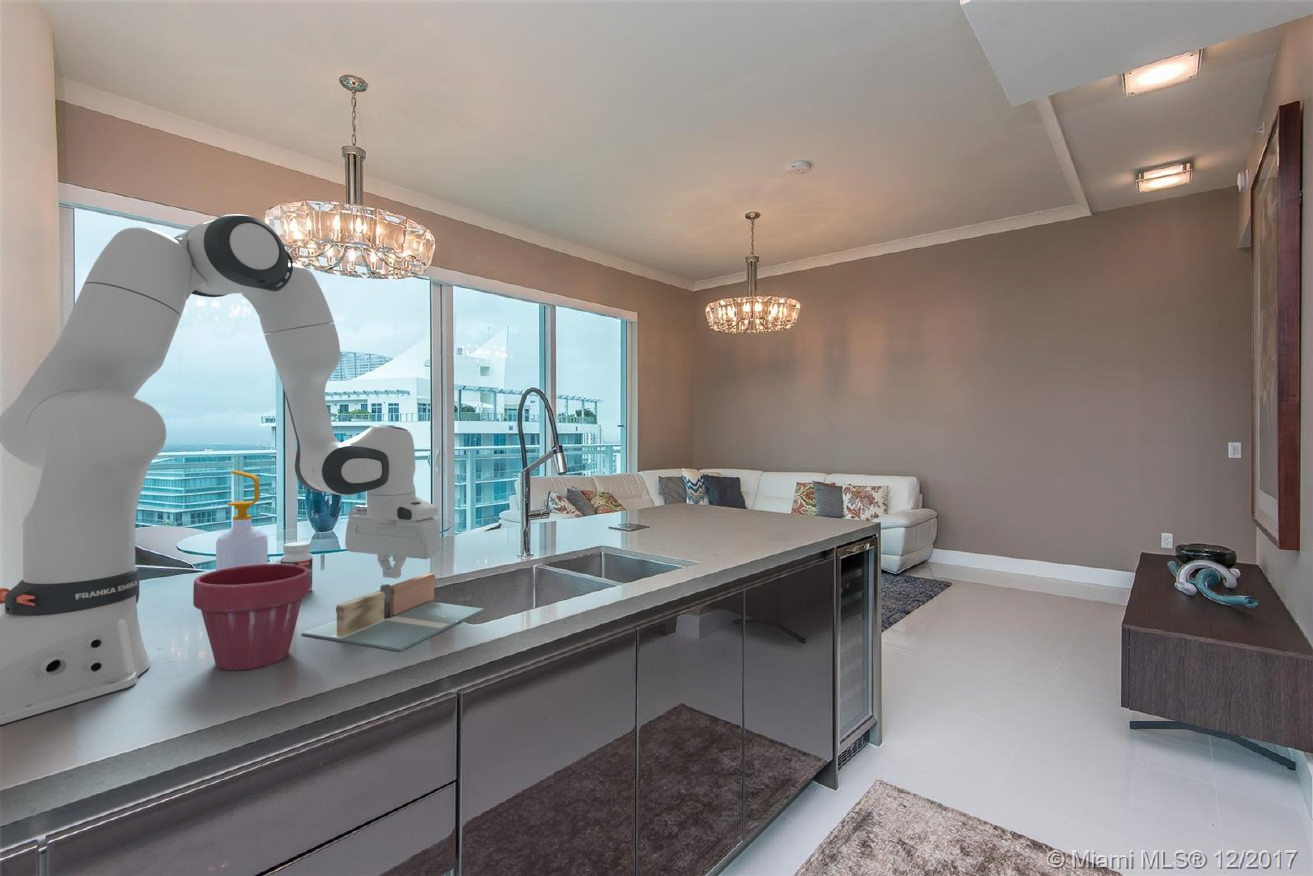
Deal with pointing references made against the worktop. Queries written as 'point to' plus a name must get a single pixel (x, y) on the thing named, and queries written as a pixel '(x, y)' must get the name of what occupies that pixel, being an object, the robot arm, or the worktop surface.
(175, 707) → the worktop surface
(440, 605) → the board
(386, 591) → the fence post
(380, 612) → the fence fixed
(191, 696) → the worktop surface
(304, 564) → the pill bottle
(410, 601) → the orange hinged panel
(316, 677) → the worktop surface
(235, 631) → the plant pot
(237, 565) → the soap bottle
